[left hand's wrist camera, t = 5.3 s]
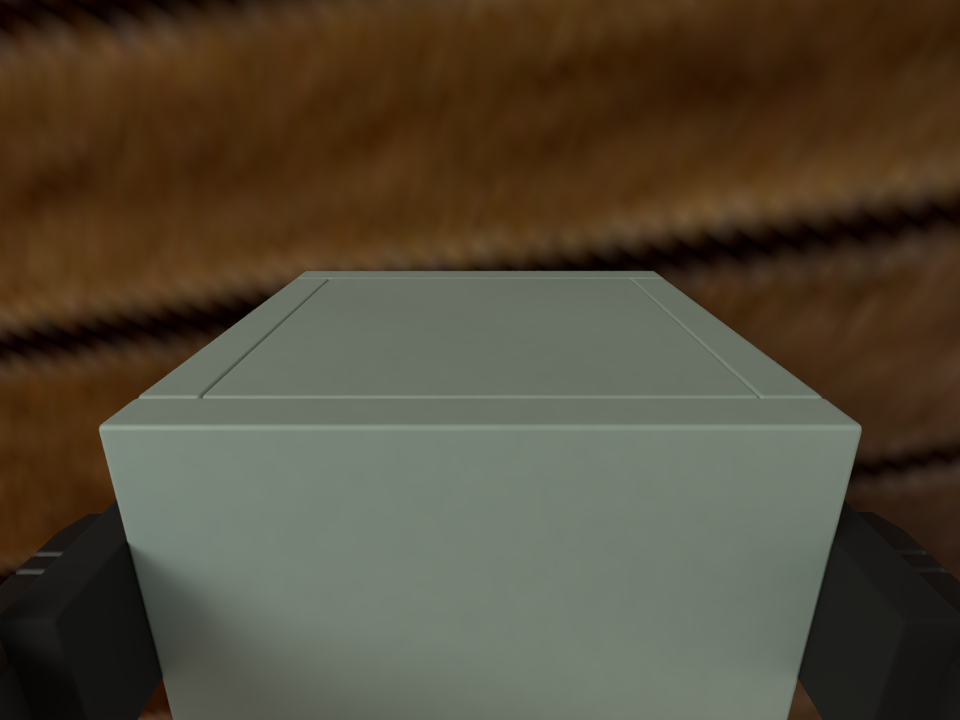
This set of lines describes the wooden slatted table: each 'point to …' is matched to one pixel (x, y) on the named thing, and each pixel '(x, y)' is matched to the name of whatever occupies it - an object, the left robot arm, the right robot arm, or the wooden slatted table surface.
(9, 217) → the wooden slatted table surface
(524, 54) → the wooden slatted table surface
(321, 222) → the wooden slatted table surface
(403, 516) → the cabinet
